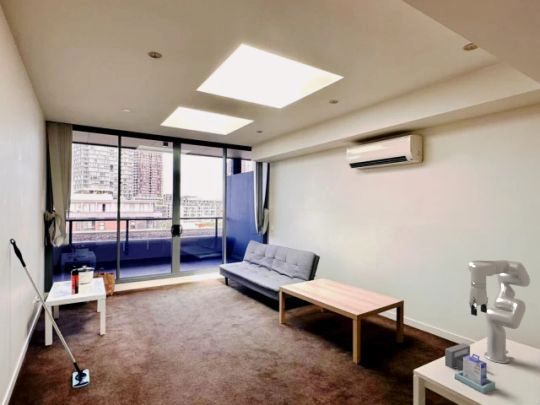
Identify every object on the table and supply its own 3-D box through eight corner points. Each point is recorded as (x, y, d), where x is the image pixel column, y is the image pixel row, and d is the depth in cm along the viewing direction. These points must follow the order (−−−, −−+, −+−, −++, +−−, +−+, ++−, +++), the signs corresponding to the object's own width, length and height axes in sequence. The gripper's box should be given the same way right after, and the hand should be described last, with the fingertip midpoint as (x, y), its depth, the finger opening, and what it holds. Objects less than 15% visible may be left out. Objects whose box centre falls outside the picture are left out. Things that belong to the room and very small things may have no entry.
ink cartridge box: (487, 385, 165) (487, 358, 165) (481, 388, 162) (481, 361, 162) (468, 376, 173) (468, 350, 173) (462, 378, 171) (462, 352, 171)
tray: (466, 373, 177) (466, 368, 177) (495, 388, 163) (495, 382, 163) (454, 378, 172) (454, 373, 172) (483, 393, 158) (483, 388, 158)
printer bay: (463, 358, 194) (463, 343, 194) (489, 370, 180) (489, 353, 180) (445, 365, 186) (445, 349, 186) (470, 378, 172) (470, 360, 172)
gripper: (480, 281, 189) (480, 309, 189) (463, 285, 182) (463, 314, 182) (493, 284, 183) (494, 313, 183) (476, 288, 175) (476, 318, 175)
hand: (478, 313), depth 182 cm, fingers open, 9 cm apart
